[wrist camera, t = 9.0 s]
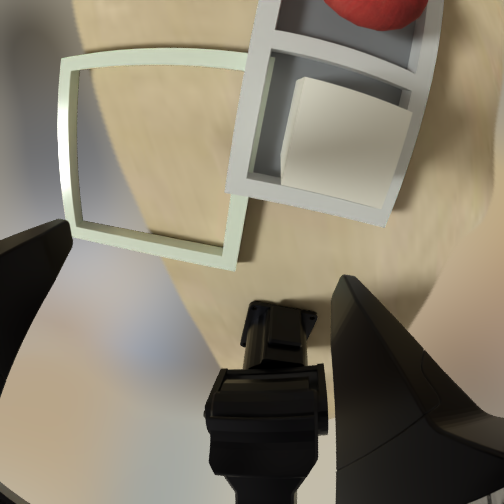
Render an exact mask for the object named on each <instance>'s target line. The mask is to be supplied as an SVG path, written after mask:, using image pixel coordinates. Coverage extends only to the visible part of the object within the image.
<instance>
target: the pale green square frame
mask: <svg viewBox="0 0 504 504" xmlns="http://www.w3.org/2000/svg"><path fill="white" fill-rule="evenodd" d="M247 55H248V53H242V52H234V51H224V50H212V49H196V48H142V49H126V50H114V51H105V52H97V53H90V54H83V55H77V56H72V57H66V58H62V59H61V68H60V78H59V94H58V149H59V166H60V178H61V188H62V197H63V204H64V211H65V217H66V220H67V221H68V222H69V223H70V228H71V234H72V237H75V238H79V239H84V240H89V241H93V242H97V243H101V244H106V245H110V246H115V247H120V248H124V249H129V250H133V251H138V252H142V253H147V254H152V255H156V256H161V257H166V258H171V259H175V260H180V261H185V262H190V263H195V264H200V265H205V266H210V267H215V268H220V269H225V270H230V271H235V270H236V266H237V261H238V255H239V250H240V244H241V238H242V233H243V227H244V222H245V216H246V211H247V205H248V200H249V197H245V196H240V195H234V194H231V198H230V205H229V211H228V218H227V225H226V232H225V239H224V246H223V248H221V247H216V246H211V245H206V244H201V243H196V242H190V241H185V240H180V239H175V238H170V237H165V236H160V235H155V234H149V233H144V232H139V231H134V230H129V229H124V228H119V227H114V226H108V225H103V224H98V223H93V222H88V221H83V217H82V209H81V200H80V188H79V176H78V160H77V159H78V157H77V104H78V86H79V75H80V70H85V69H94V68H105V67H118V66H141V65H171V66H194V67H208V68H219V69H228V70H236V71H245V66H246V61H247ZM274 63H275V57H270V61H269V66H268V71H267V76H266V81H265V86H264V92H263V97H262V102H261V107H260V112H259V118H258V123H257V128H256V134H255V139H254V144H253V150H252V155H251V161H250V166H249V173H253V171H254V165H255V160H256V155H257V149H258V144H259V139H260V134H261V128H262V123H263V118H264V113H265V108H266V103H267V98H268V93H269V87H270V82H271V77H272V72H273V67H274Z"/></svg>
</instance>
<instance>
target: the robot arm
mask: <svg viewBox="0 0 504 504" xmlns="http://www.w3.org/2000/svg"><path fill="white" fill-rule="evenodd" d="M72 245H73V239H72V234H71V228H70V223H69V222H68V221H67V220H63V219H56V220H53V221H51V222H48V223H45V224H42V225H39V226H36V227H34V228H31V229H28V230H26V231H23V232H20V233H18V234H15V235H12V236H10V237H8V238H5V239H3V240H0V397H1V394H2V391H3V388H4V385H5V383H6V379H7V377H8V375H9V372H10V369H11V367H12V365H13V362H14V360H15V358H16V355H17V353H18V351H19V349H20V346H21V344H22V342H23V340H24V338H25V336H26V334H27V332H28V330H29V328H30V325H31V324H32V322H33V319H34V318H35V316H36V314H37V312H38V310H39V308H40V307H41V305H42V303H43V301H44V299H45V298H46V296H47V294H48V292H49V291H50V289H51V287H52V285H53V284H54V282H55V280H56V278H57V276H58V274H59V272H60V270H61V268H62V266H63V264H64V262H65V260H66V258H67V256H68V254H69V252H70V250H71V248H72ZM312 316H313V317H312ZM317 318H318V317H317V313H316V312H313V311H307V310H301V309H295V308H289V307H283V306H277V305H271V304H266V303H260V302H251V303H250V304H249V308H248V312H247V316H246V321H245V325H244V329H243V333H242V337H241V342H240V345H241V346H242V347H246V349H245V356H244V364H243V369H233V370H228V369H221V370H220V372H219V375H218V376H217V379H216V381H215V383H214V385H213V388H212V390H211V393H210V395H209V398H208V400H207V402H206V405H205V411H204V417H205V419H206V426H207V430H208V432H209V433H210V437H211V438H210V454H209V464H210V466H211V468H212V470H213V472H214V474H215V475H221V476H224V477H225V479H226V480H227V481H228V483H229V484H230V486H231V487H232V488H233V490H234V491H235V498H236V504H297V489H298V488H299V487H300V485H301V484H302V482H303V481H304V480H305V478H306V477H307V476H308V474H309V473H310V471H311V469H312V468H313V466H314V465H315V463H316V461H317V460H318V436H320V435H327V434H328V402H327V390H326V381H325V372H324V363H322V364H317V365H312V366H308V360H307V339H308V337H309V335H310V333H311V331H312V329H313V327H314V325H315V323H316V321H317ZM331 355H332V368H333V382H334V398H335V420H336V460H337V461H336V466H337V467H336V469H337V472H336V504H504V418H501V417H496V416H493V415H490V414H488V413H486V412H484V411H483V410H482V409H480V408H479V407H478V406H477V405H476V404H475V403H474V402H473V401H472V400H471V399H470V397H469V396H468V395H467V394H466V393H465V392H464V391H463V390H462V389H461V388H460V387H459V386H458V385H457V384H456V383H455V382H454V381H453V380H452V379H451V378H450V377H449V376H448V375H447V374H446V373H445V372H444V371H443V370H442V369H441V368H440V367H439V365H438V364H437V363H436V362H435V361H434V360H433V359H432V358H431V356H430V355H429V354H428V353H427V352H426V351H425V350H424V351H423V347H422V346H421V345H420V344H419V343H418V342H417V341H416V340H415V339H414V337H413V336H412V335H411V334H410V333H409V332H408V331H407V330H406V329H405V328H404V327H403V326H402V324H401V323H400V322H399V321H398V320H397V319H396V318H395V317H394V316H393V315H392V314H391V313H390V312H389V311H388V310H387V309H386V307H385V306H384V305H383V304H382V303H381V302H380V301H379V300H378V299H377V298H376V297H375V296H374V295H373V294H372V293H371V292H370V291H369V290H368V289H367V288H366V287H365V286H364V285H363V284H362V283H361V282H360V281H359V280H358V279H357V278H356V277H355V276H350V275H345V274H344V275H342V276H341V277H340V279H339V282H338V284H337V286H336V288H335V290H334V293H333V295H332V299H331ZM0 504H30V503H28V502H27V501H25V500H24V499H22V498H21V497H19V496H18V495H17V494H15V493H14V492H13V491H11V490H10V489H9V488H7V487H6V486H5V485H3V484H2V483H1V482H0Z"/></svg>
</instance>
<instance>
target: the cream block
mask: <svg viewBox="0 0 504 504" xmlns="http://www.w3.org/2000/svg"><path fill="white" fill-rule="evenodd" d="M412 113H413V112H410V111H408V110H406V109H403V108H401V107H398V106H396V105H394V104H391V103H388V102H386V101H383V100H381V99H378V98H375V97H372V96H369V95H367V94H364V93H361V92H358V91H355V90H351V89H348V88H345V87H342V86H338V85H335V84H331V83H328V82H324V81H320V80H316V79H313V78H308V77H303V78H301V79H298V80H296V84H295V89H294V94H293V98H292V103H291V108H290V112H289V117H288V122H287V126H286V131H285V135H284V140H283V145H282V149H281V154H280V156H281V185H284V186H288V187H293V188H298V189H302V190H307V191H311V192H315V193H319V194H324V195H328V196H332V197H336V198H340V199H344V200H348V201H352V202H356V203H359V204H363V205H367V206H370V207H374V208H378V209H382V206H383V203H384V201H385V198H386V195H387V192H388V190H389V187H390V184H391V181H392V178H393V175H394V173H395V170H396V167H397V164H398V160H399V157H400V154H401V151H402V148H403V145H404V141H405V138H406V135H407V131H408V128H409V124H410V121H411V117H412Z"/></svg>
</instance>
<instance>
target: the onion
mask: <svg viewBox="0 0 504 504" xmlns="http://www.w3.org/2000/svg"><path fill="white" fill-rule="evenodd" d="M324 2H325V3H326V4H327V5H328V6H329V7H330V8H332V9H333V10H334V11H335V12H336V13H337V14H338V15H339V16H341V17H342V18H344V19H346V20H348V21H350V22H351V23H353V24H355V25H357V26H360V27H364V28H368V29H372V30H376V31H388V30H396V29H402V28H404V27H405V26H407V25H408V24H410V23H412V22H413V21H415V20H416V19H418V18H419V17H420V16H421V14H422V13H423V11H424V9H425V7H426V6H427V3H428V0H324Z"/></svg>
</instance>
